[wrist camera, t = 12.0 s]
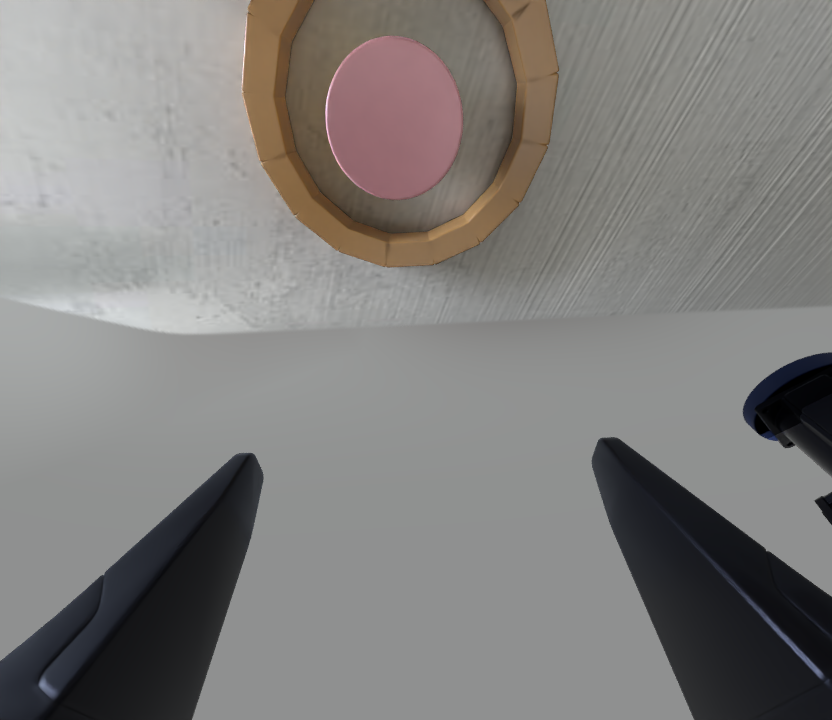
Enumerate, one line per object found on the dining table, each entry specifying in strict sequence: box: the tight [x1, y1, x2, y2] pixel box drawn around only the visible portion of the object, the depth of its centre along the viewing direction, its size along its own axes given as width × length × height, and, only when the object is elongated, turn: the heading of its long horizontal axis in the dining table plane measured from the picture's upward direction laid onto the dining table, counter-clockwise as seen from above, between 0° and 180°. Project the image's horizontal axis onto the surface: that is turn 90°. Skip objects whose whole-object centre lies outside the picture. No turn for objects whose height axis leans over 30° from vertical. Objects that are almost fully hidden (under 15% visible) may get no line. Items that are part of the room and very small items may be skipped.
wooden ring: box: [242, 0, 559, 267], centre depth 15 cm, size 12×12×2 cm
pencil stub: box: [325, 36, 463, 200], centre depth 12 cm, size 3×3×9 cm
